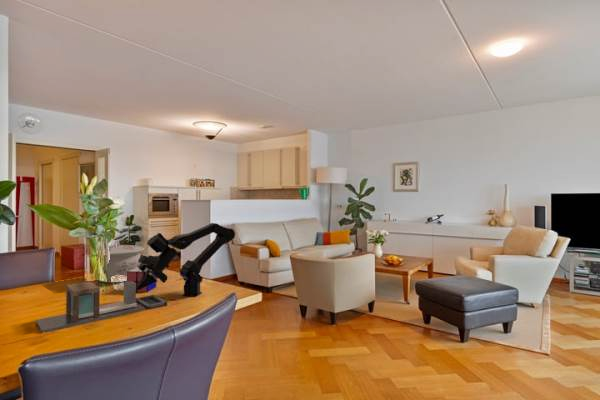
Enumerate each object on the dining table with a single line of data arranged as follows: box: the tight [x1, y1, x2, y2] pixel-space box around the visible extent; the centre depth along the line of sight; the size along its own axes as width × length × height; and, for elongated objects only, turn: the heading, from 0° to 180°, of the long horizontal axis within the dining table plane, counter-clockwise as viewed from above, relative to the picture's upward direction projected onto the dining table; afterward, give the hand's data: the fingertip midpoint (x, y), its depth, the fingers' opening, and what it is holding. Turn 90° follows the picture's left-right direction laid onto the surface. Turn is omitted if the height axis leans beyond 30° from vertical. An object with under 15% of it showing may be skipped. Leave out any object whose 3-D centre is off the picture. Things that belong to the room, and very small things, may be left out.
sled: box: [71, 281, 137, 319], centre depth 129 cm, size 21×7×9 cm, turn 136°
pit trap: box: [136, 294, 168, 311], centre depth 142 cm, size 8×14×2 cm, turn 46°
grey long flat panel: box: [35, 303, 146, 334], centre depth 126 cm, size 33×13×1 cm, turn 136°
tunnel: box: [65, 281, 100, 323], centre depth 124 cm, size 8×12×11 cm, turn 46°
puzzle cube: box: [126, 267, 157, 293], centre depth 163 cm, size 10×10×10 cm
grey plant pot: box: [105, 241, 145, 284], centre depth 180 cm, size 28×28×21 cm
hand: (137, 289), depth 138 cm, fingers closed
